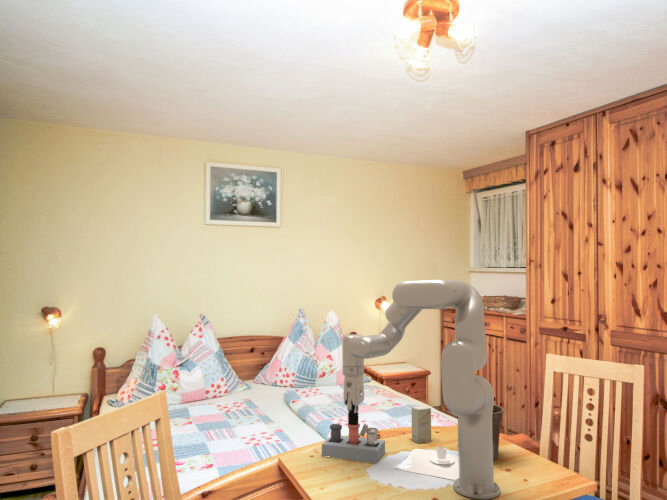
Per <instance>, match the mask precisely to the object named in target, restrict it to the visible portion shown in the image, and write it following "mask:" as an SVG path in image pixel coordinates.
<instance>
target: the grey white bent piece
mask: <svg viewBox="0 0 667 500" xmlns="http://www.w3.org/2000/svg"><path fill="white" fill-rule="evenodd" d="M366 428H369V425H368V424H367V423H363V425H362V428H361V430H360V431H359V438H361V437H362V438H365V435H366V434H367V433H366ZM347 436H349V433H348V435H347Z"/></svg>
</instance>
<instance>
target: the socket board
mask: <svg viewBox="0 0 667 500" xmlns="http://www.w3.org/2000/svg"><path fill="white" fill-rule="evenodd" d="M385 453H386V440H385V439H378V438H377V447H372V446H367V437H366V438H365V437H360V438H359V445H354V444H349V436H348V435H341V442H340V443H336V442H331V435H330V436H329V437H328V438H327V439H326V440H325V441H324V442H322V443H321V457H323V456H330V457H329V458H331V457H335V458H334V459H339V458H342V459H341V460H348V461H357V462H365V463H374V464H379V462H380V461H381V459H382V457H383V456H384V455H385Z"/></svg>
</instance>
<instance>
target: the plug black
mask: <svg viewBox="0 0 667 500" xmlns="http://www.w3.org/2000/svg"><path fill="white" fill-rule="evenodd" d="M329 429H330V431H331V432H330V436H331V442H336V443H340V442H341V436H342V429H343V425H342V424H340V423H332V424H330V425H329Z"/></svg>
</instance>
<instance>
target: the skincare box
mask: <svg viewBox="0 0 667 500" xmlns="http://www.w3.org/2000/svg"><path fill="white" fill-rule="evenodd" d="M431 409H432V408H431V407H429V406H425V405H419V406H413V407H411V440H412V441H414V442H416V443H418V444H421V443H426V442H427V443H429V442H431V441H432V410H431Z"/></svg>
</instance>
